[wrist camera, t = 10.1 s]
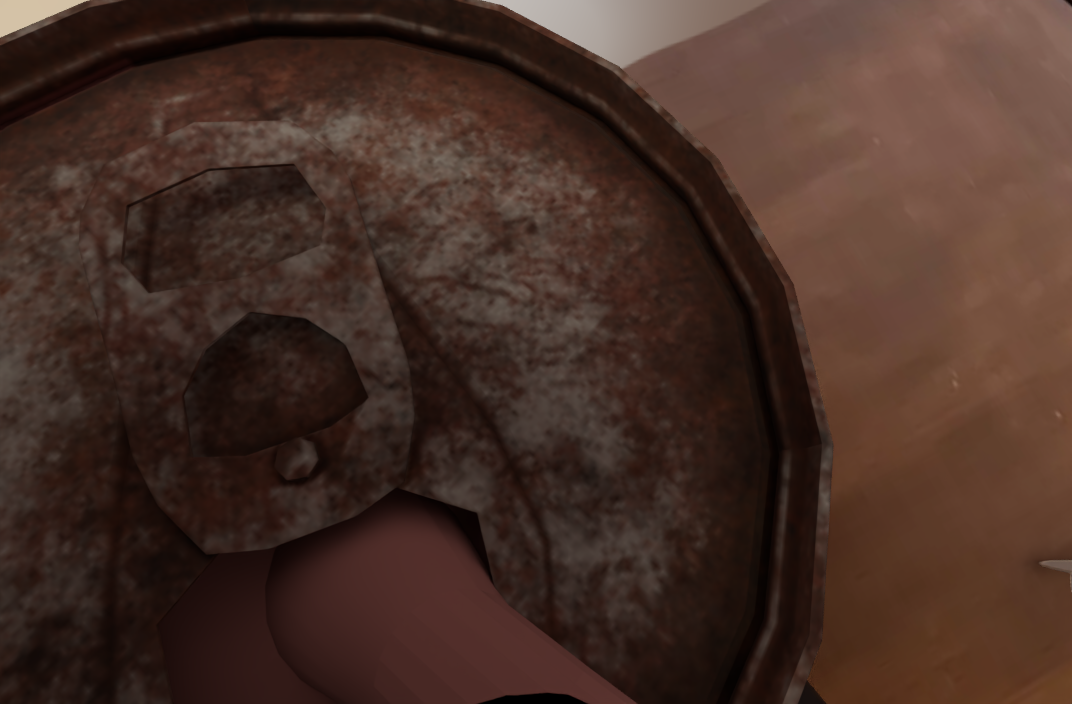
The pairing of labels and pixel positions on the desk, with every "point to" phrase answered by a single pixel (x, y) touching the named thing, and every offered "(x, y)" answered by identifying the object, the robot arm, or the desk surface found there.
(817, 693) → the robot arm
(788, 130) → the desk surface
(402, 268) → the can
